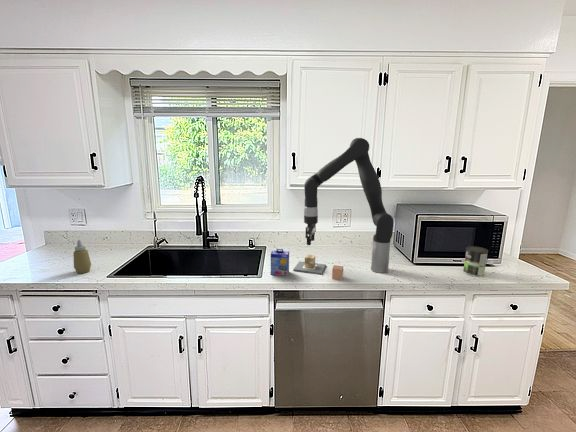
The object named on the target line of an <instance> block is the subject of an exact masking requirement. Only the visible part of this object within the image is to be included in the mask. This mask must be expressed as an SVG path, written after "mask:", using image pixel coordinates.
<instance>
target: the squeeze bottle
mask: <svg viewBox="0 0 576 432" xmlns="http://www.w3.org/2000/svg"><path fill="white" fill-rule="evenodd" d="M91 268H92V263H91V258H90V253H89V250H88V249H86V246H85V245H83V244H82V240H80V239H78V240H77V244H76V246H75V247H74V251H73V269H74V270H75V272H76V273H77V274H79V275H80V274H86V273H88V272H90V271H91Z"/></svg>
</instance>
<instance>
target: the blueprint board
mask: <svg viewBox="0 0 576 432" xmlns="http://www.w3.org/2000/svg"><path fill="white" fill-rule="evenodd" d="M326 267H327V264H326V263H318V262H317V263H316V262H315V267H314V268H313V269H312V268H305V261H300V260H299V261H298V262H297V264H296V265H295V267H293V269H292V271H293V272H299V273H305V274H306V273H308V274H314V275H315V274H316V275H322V274H323V272H324V271H325V268H326Z"/></svg>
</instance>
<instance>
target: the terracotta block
mask: <svg viewBox="0 0 576 432" xmlns="http://www.w3.org/2000/svg"><path fill="white" fill-rule="evenodd" d="M331 270H332V273H331V279H332V280H336V281H337V280H338V281H342V280H343V277H344V266H343V265H337V264H335V265H333V267H332V269H331Z"/></svg>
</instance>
